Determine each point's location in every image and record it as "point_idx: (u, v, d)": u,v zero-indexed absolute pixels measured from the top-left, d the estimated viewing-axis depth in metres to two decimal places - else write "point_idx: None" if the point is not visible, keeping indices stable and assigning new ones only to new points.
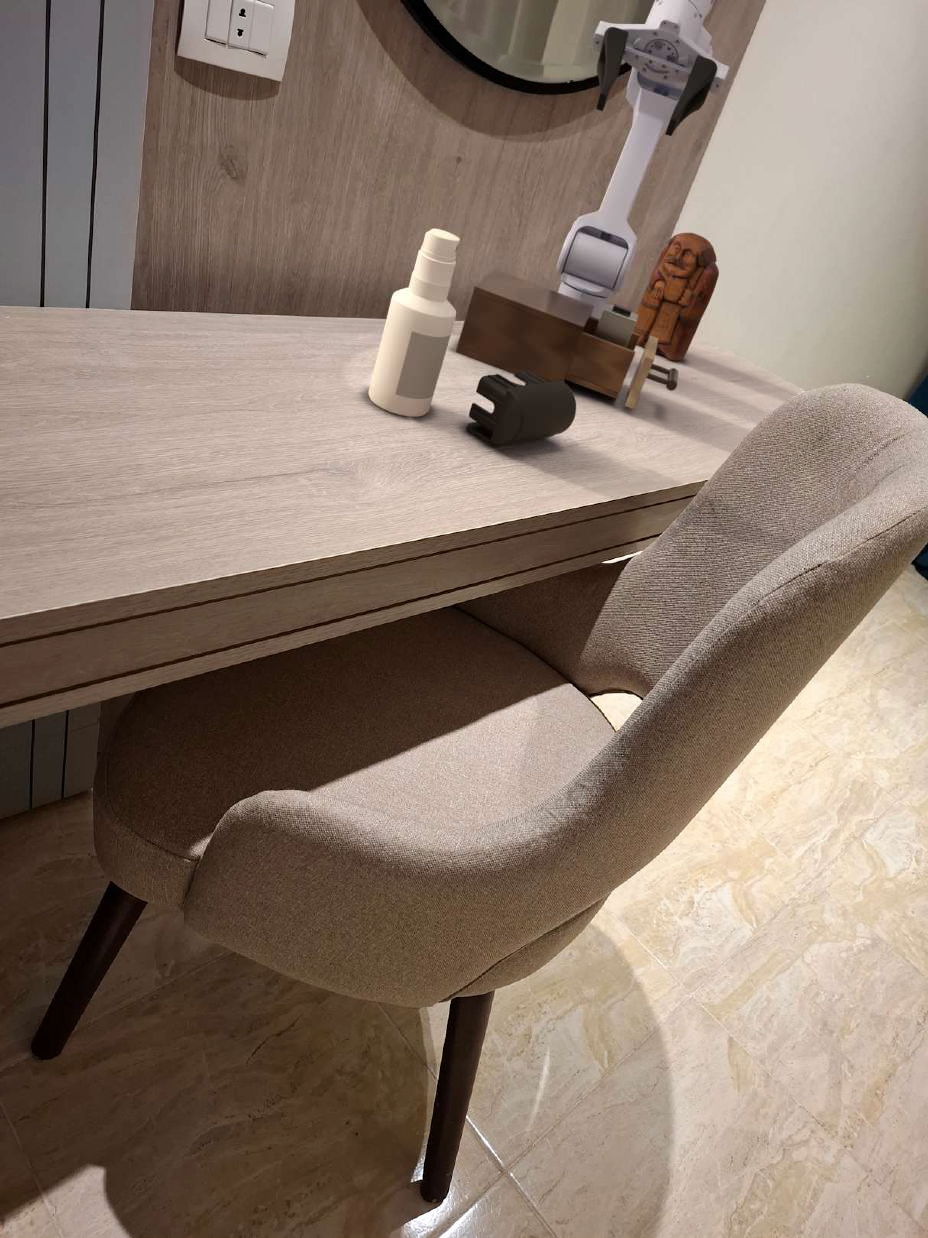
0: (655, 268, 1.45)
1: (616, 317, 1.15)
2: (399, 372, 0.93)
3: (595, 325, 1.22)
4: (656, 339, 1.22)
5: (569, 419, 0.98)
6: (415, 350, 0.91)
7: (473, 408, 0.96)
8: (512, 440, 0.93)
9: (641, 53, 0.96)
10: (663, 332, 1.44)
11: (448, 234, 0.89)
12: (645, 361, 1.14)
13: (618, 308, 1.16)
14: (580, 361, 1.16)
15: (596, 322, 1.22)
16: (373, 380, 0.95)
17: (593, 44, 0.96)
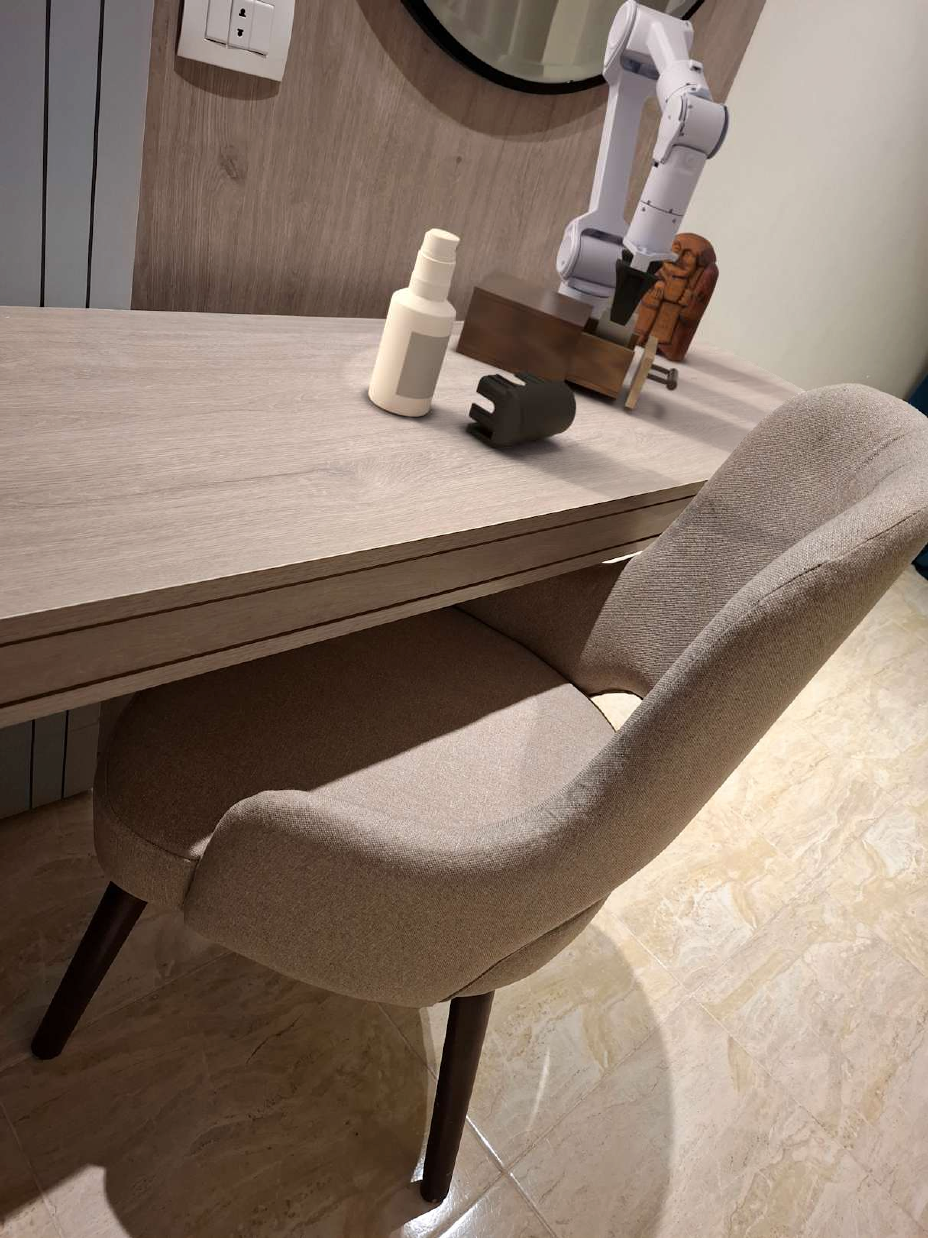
0: None
1: None
2: (399, 372, 0.93)
3: (595, 325, 1.22)
4: (656, 339, 1.22)
5: (569, 419, 0.98)
6: (415, 350, 0.91)
7: (473, 407, 0.96)
8: (512, 440, 0.93)
9: None
10: (663, 332, 1.44)
11: (448, 234, 0.89)
12: (645, 361, 1.14)
13: None
14: (580, 361, 1.16)
15: (596, 322, 1.22)
16: (373, 380, 0.95)
17: (635, 268, 1.07)
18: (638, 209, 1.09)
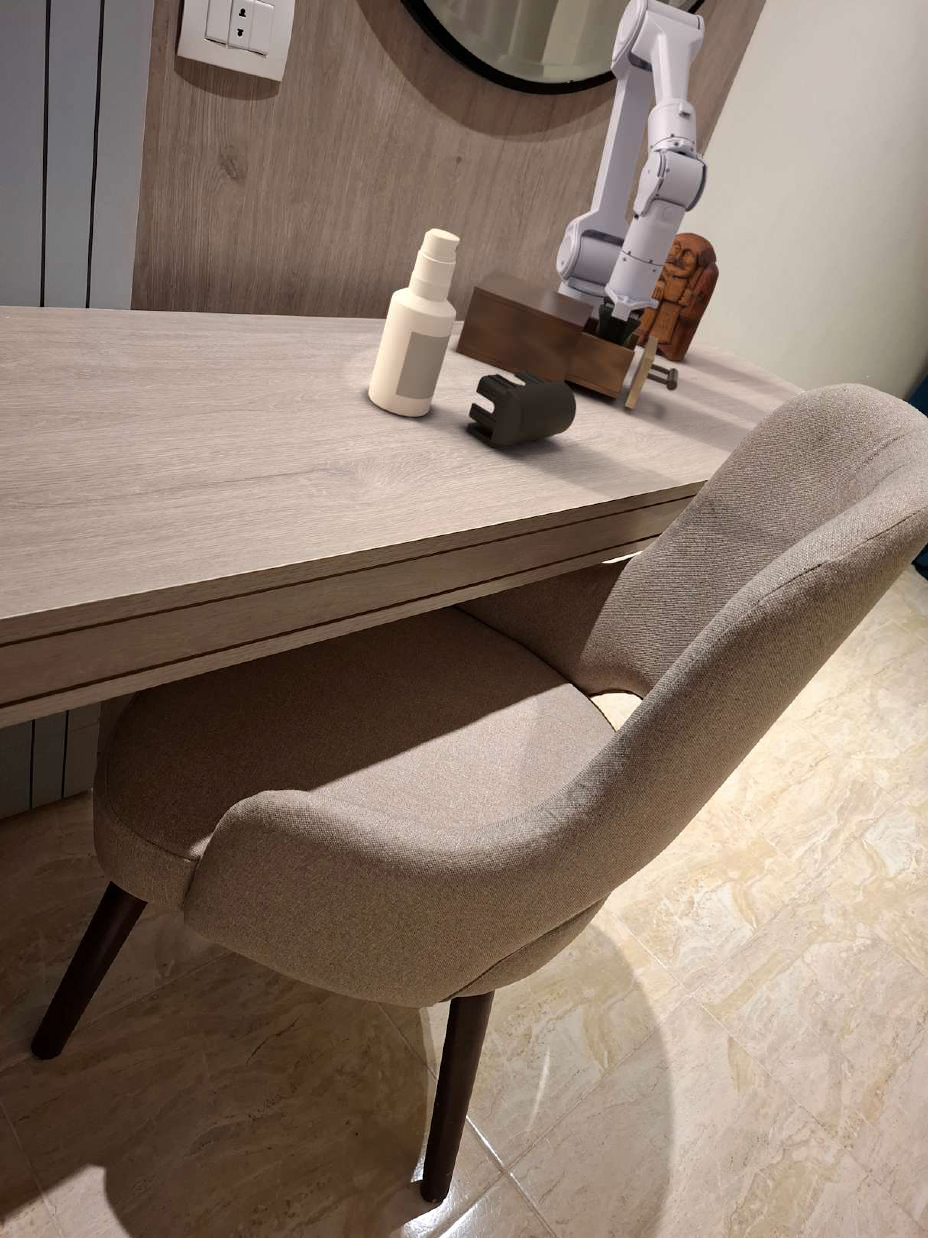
0: None
1: None
2: (399, 372, 0.93)
3: (595, 325, 1.22)
4: (656, 339, 1.22)
5: (569, 419, 0.98)
6: (415, 350, 0.91)
7: (473, 408, 0.96)
8: (512, 440, 0.93)
9: None
10: (663, 332, 1.44)
11: (448, 234, 0.89)
12: (645, 361, 1.14)
13: None
14: (580, 361, 1.16)
15: (596, 322, 1.22)
16: (373, 380, 0.95)
17: (616, 317, 1.10)
18: (619, 259, 1.13)
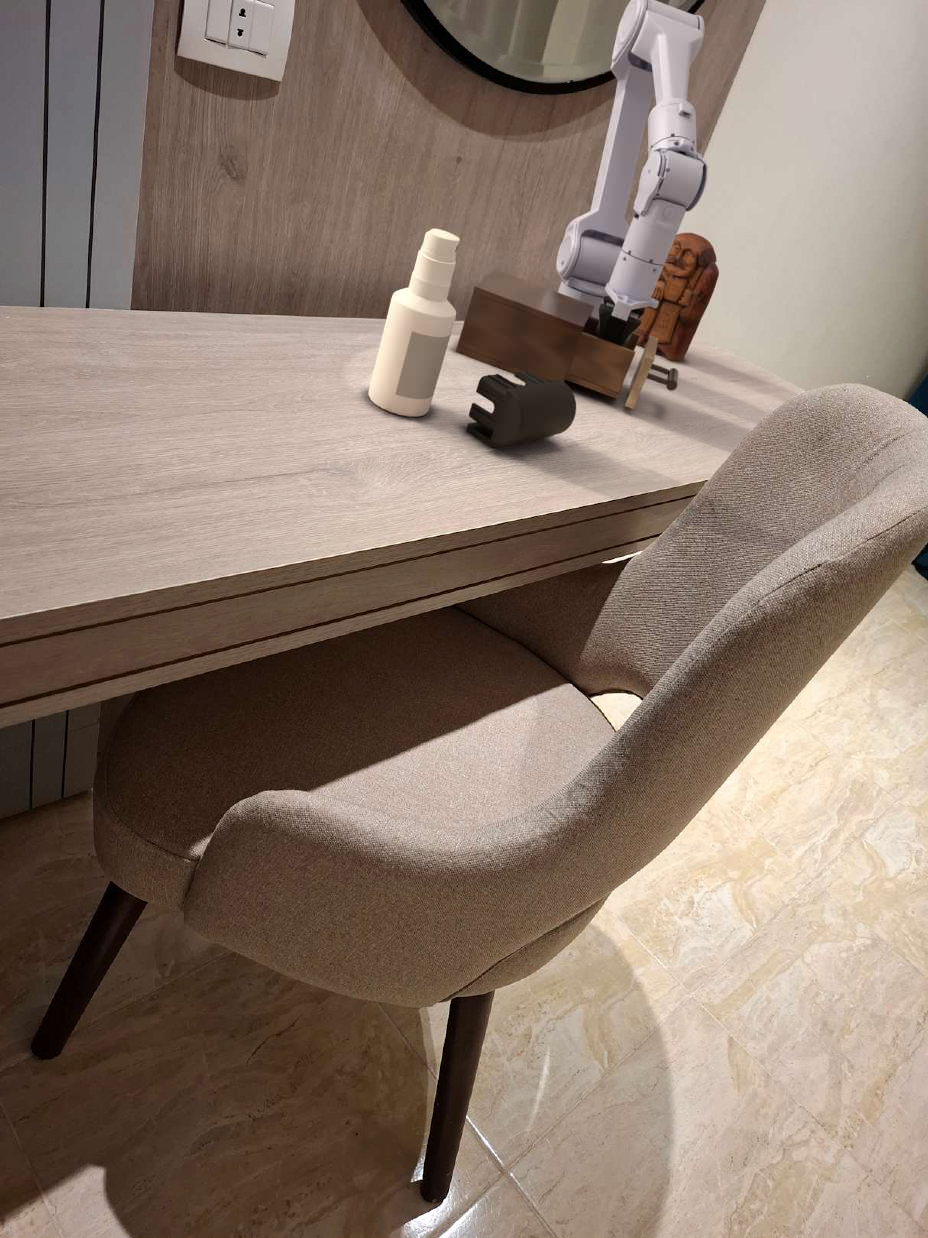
0: None
1: None
2: (399, 372, 0.93)
3: (595, 325, 1.22)
4: (656, 339, 1.22)
5: (569, 419, 0.98)
6: (415, 350, 0.91)
7: (473, 408, 0.96)
8: (512, 440, 0.93)
9: None
10: (663, 332, 1.44)
11: (448, 234, 0.89)
12: (645, 361, 1.14)
13: None
14: (580, 361, 1.16)
15: (596, 322, 1.22)
16: (373, 380, 0.95)
17: (616, 316, 1.10)
18: (620, 258, 1.13)
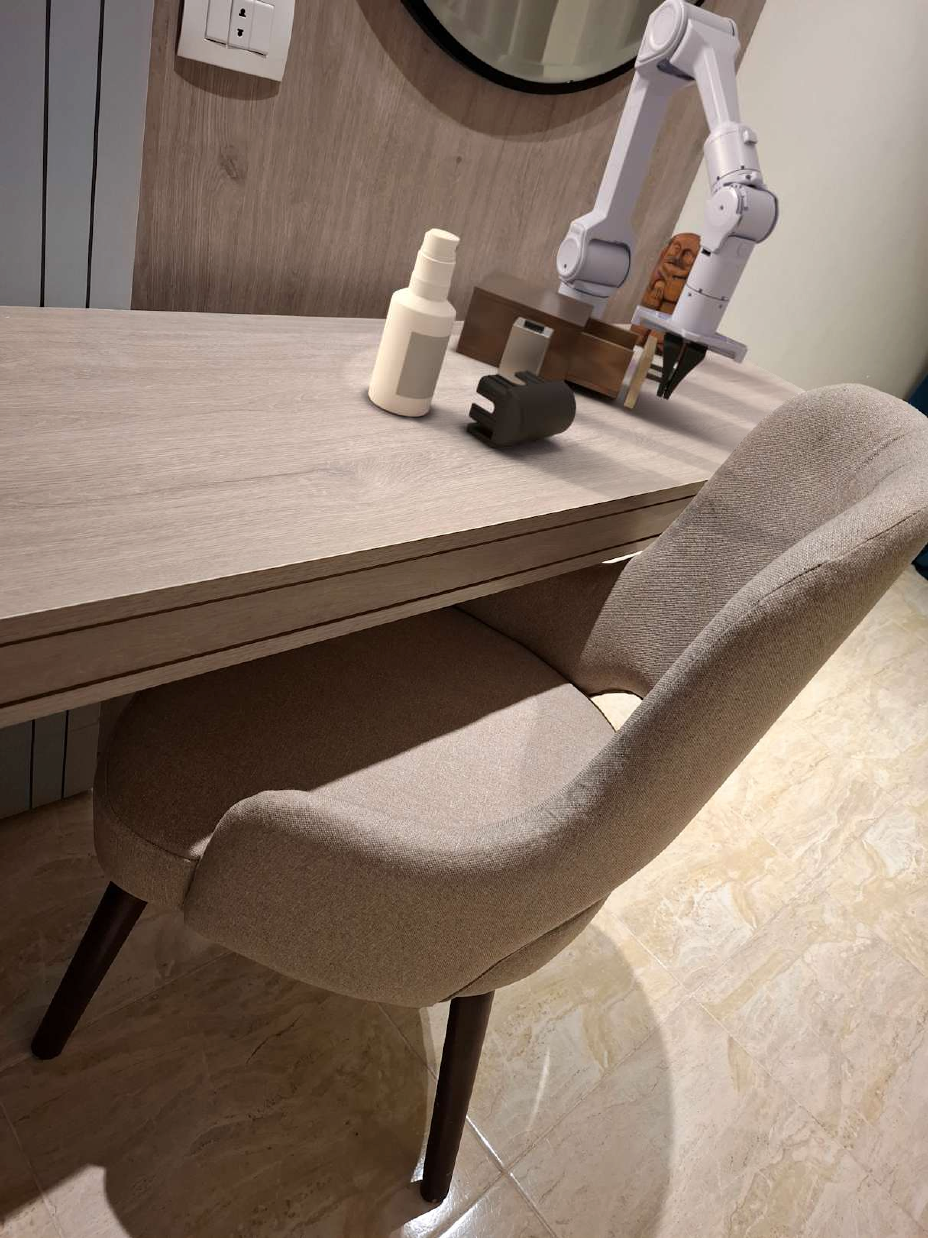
0: (655, 268, 1.45)
1: (527, 333, 1.05)
2: (399, 372, 0.93)
3: (594, 325, 1.22)
4: (655, 339, 1.22)
5: (569, 419, 0.98)
6: (415, 350, 0.91)
7: (473, 408, 0.96)
8: (512, 440, 0.93)
9: None
10: None
11: (448, 234, 0.89)
12: (644, 360, 1.14)
13: (530, 323, 1.06)
14: (579, 361, 1.16)
15: (595, 322, 1.22)
16: (373, 380, 0.95)
17: None
18: None
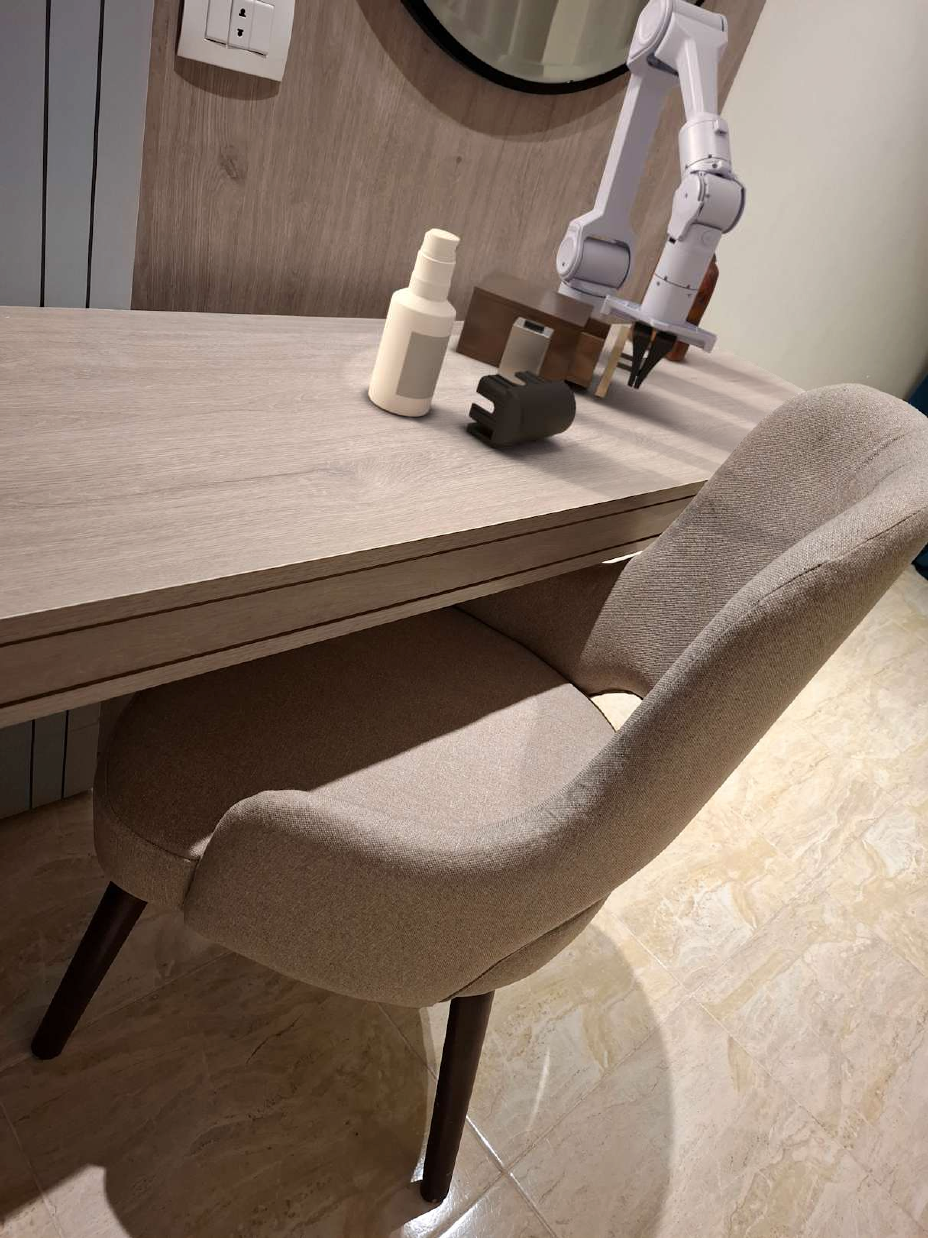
0: (655, 268, 1.45)
1: (527, 333, 1.05)
2: (399, 372, 0.93)
3: None
4: (628, 328, 1.22)
5: (569, 419, 0.98)
6: (415, 350, 0.91)
7: (473, 407, 0.96)
8: (512, 440, 0.93)
9: None
10: None
11: (448, 234, 0.89)
12: (615, 349, 1.14)
13: (530, 323, 1.06)
14: None
15: None
16: (373, 380, 0.95)
17: None
18: None
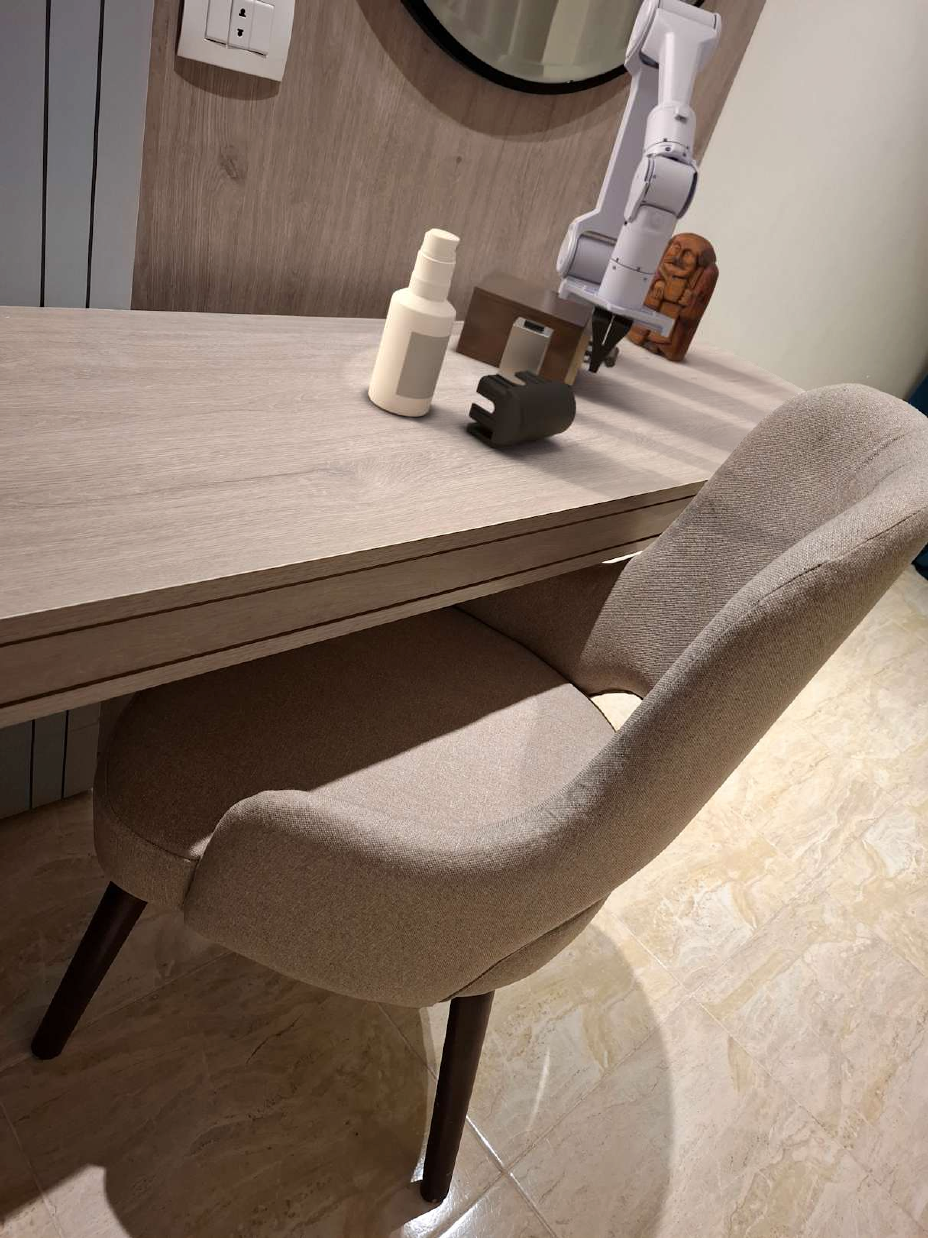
0: None
1: (527, 333, 1.05)
2: (399, 372, 0.93)
3: None
4: None
5: (569, 419, 0.98)
6: (415, 350, 0.91)
7: (473, 407, 0.96)
8: (512, 440, 0.93)
9: None
10: None
11: (448, 234, 0.89)
12: (582, 337, 1.14)
13: (530, 323, 1.06)
14: None
15: None
16: (373, 380, 0.95)
17: None
18: None
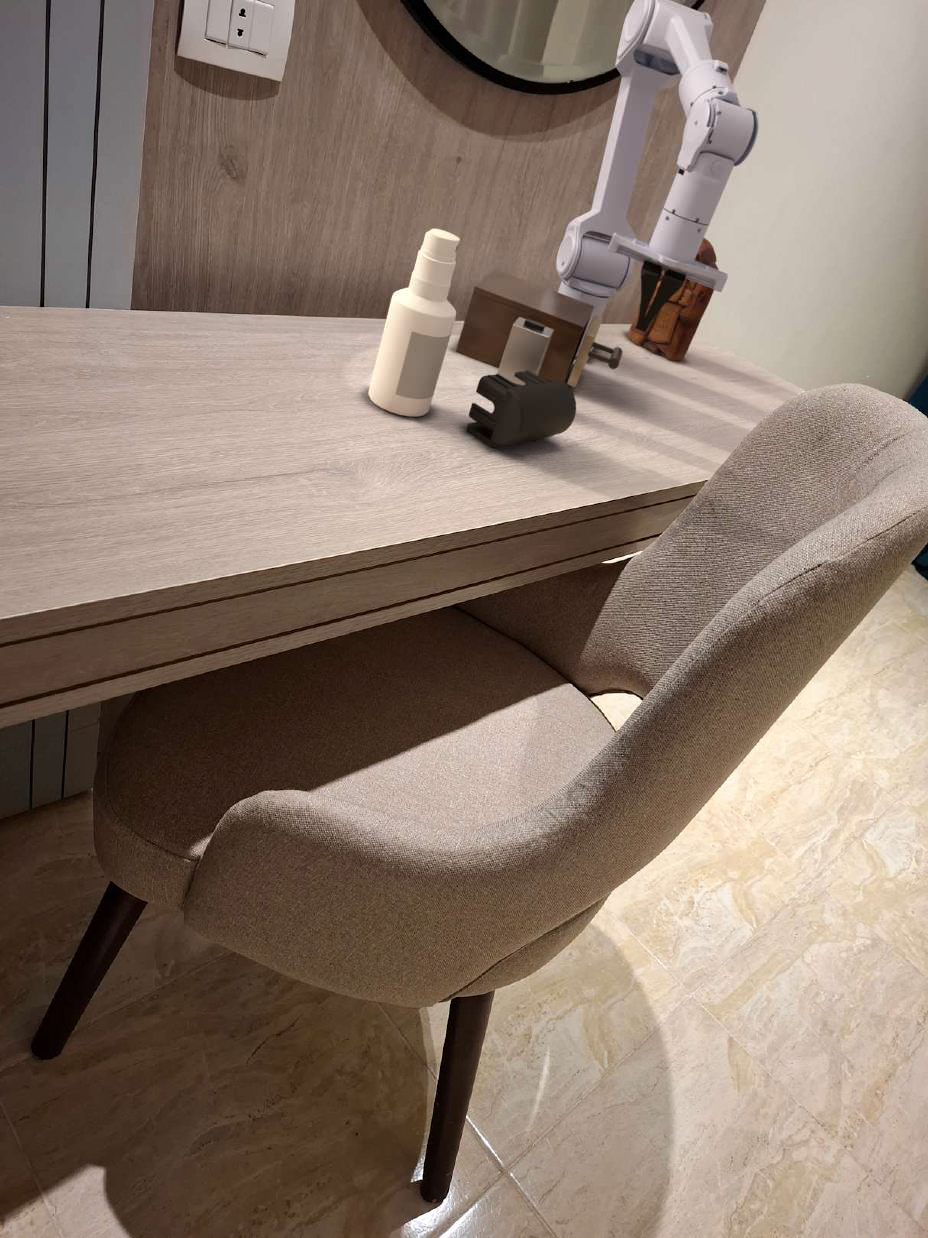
0: None
1: (527, 333, 1.05)
2: (399, 372, 0.93)
3: None
4: (600, 318, 1.22)
5: (569, 419, 0.98)
6: (415, 350, 0.91)
7: (473, 408, 0.96)
8: (512, 440, 0.93)
9: None
10: (663, 332, 1.44)
11: (448, 234, 0.89)
12: (586, 339, 1.14)
13: (530, 323, 1.06)
14: None
15: None
16: (373, 380, 0.95)
17: None
18: None
